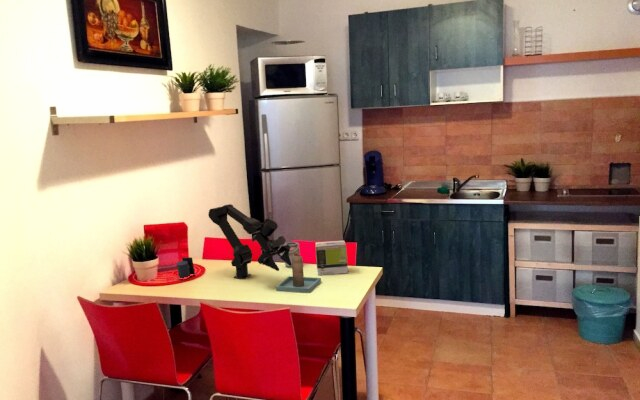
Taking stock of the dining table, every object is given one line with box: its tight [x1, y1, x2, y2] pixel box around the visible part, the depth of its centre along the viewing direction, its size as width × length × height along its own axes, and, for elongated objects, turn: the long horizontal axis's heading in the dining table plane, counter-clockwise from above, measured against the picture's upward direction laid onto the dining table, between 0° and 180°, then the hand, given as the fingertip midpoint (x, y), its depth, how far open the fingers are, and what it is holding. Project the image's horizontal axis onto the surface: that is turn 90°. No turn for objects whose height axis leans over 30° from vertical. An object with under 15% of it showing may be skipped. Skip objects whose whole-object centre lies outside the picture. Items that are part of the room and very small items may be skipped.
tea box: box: [315, 240, 349, 276], centre depth 272 cm, size 15×10×15 cm
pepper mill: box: [291, 255, 305, 287], centre depth 251 cm, size 5×5×13 cm
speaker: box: [176, 256, 196, 278], centre depth 275 cm, size 8×6×10 cm
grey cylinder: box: [283, 241, 301, 269], centre depth 286 cm, size 9×8×12 cm
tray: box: [275, 275, 322, 294], centre depth 252 cm, size 16×16×2 cm
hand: (284, 267), depth 255 cm, fingers open, 9 cm apart
